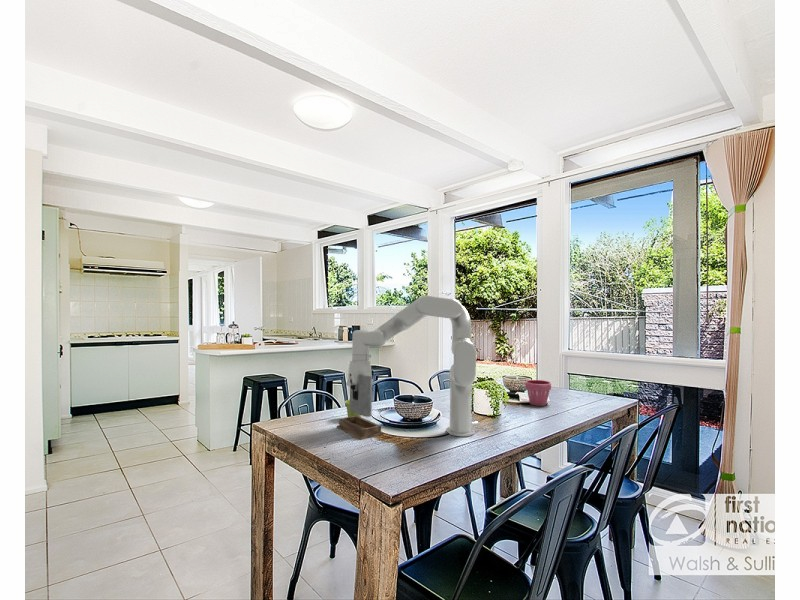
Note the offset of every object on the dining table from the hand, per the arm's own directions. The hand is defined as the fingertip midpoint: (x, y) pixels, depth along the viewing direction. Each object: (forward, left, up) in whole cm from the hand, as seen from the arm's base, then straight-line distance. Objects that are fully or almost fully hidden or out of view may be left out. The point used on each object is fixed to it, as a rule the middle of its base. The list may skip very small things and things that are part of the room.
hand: (359, 398), depth 190 cm
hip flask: (0, 0, -6) cm, 6 cm away
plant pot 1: (-8, -18, -15) cm, 25 cm away
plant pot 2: (-111, +15, -15) cm, 113 cm away
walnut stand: (0, 0, -15) cm, 15 cm away
